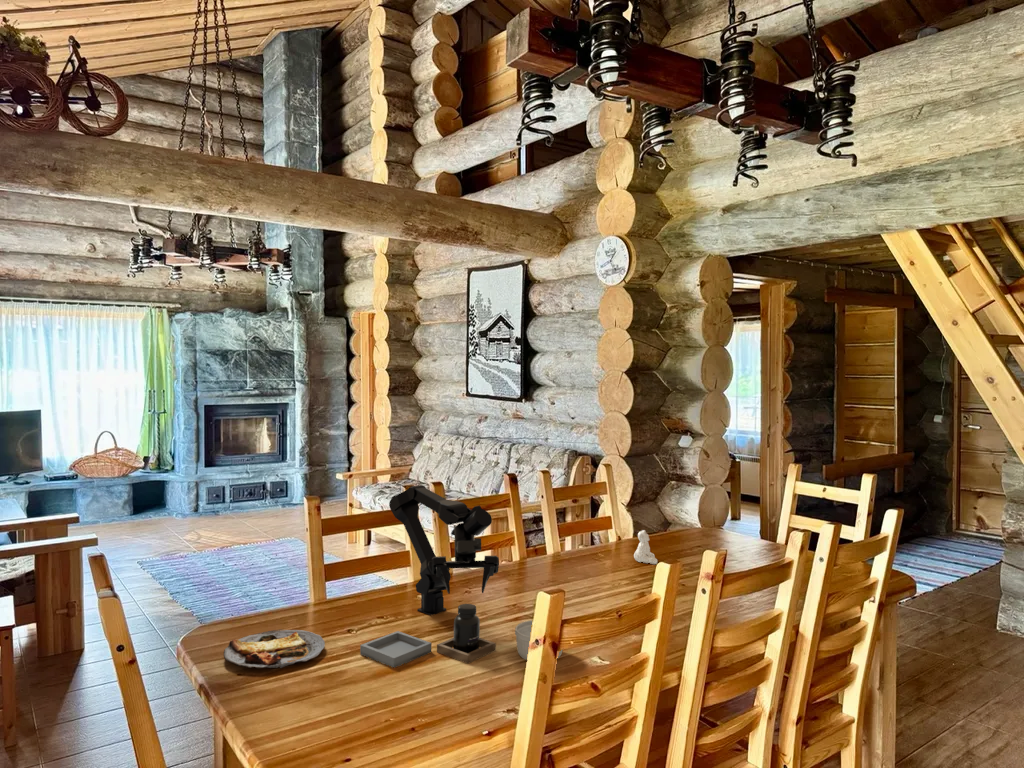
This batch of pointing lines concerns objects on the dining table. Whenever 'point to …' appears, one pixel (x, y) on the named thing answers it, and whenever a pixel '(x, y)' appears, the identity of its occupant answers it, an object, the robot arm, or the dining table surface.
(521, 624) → the ramekin
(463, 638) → the supplement bottle
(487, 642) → the walnut collar
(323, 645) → the food plate
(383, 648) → the grey tray
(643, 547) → the white creature statuette
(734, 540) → the dining table surface
